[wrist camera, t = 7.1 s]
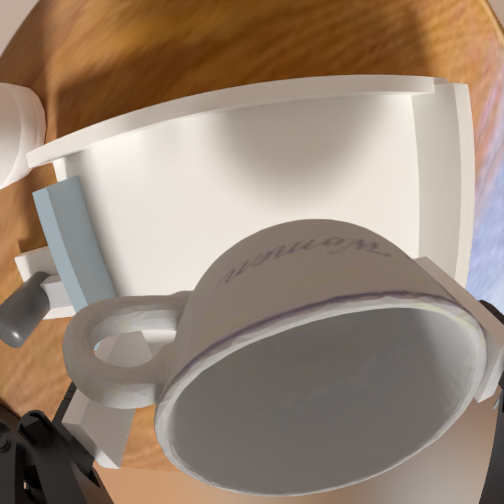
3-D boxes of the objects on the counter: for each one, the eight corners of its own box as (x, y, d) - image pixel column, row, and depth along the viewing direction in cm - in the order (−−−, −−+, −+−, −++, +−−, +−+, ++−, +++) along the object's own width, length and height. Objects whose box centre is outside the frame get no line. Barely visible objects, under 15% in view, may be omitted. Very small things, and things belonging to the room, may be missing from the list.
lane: (78, 371, 26) (56, 414, 20) (-3, 175, 18) (-52, 193, 13) (417, 318, 25) (449, 359, 20) (415, 83, 17) (466, 76, 12)
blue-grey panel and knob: (69, 360, 24) (44, 406, 18) (2, 204, 18) (-48, 230, 12) (143, 356, 23) (125, 410, 18) (78, 174, 18) (26, 195, 12)
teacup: (431, 265, 14) (527, 357, 7) (318, 401, 18) (345, 510, 10) (184, 117, 11) (101, 103, 4) (101, 317, 15) (37, 436, 7)
